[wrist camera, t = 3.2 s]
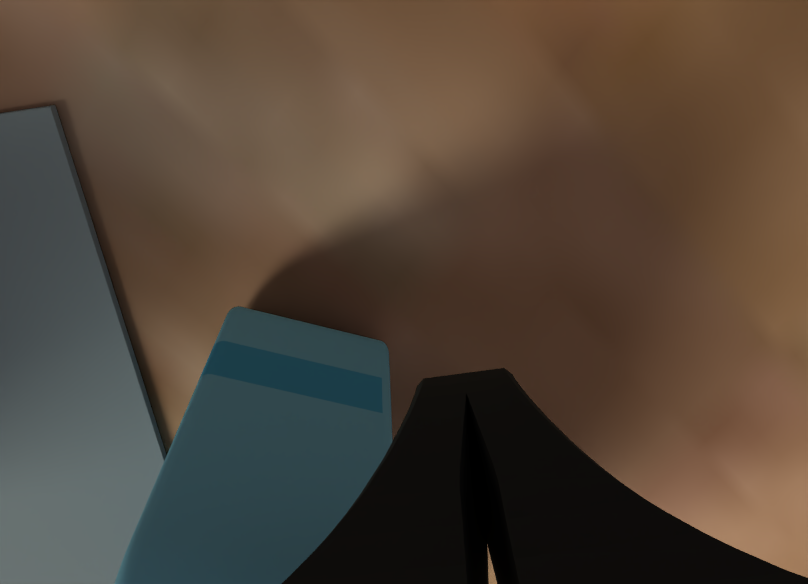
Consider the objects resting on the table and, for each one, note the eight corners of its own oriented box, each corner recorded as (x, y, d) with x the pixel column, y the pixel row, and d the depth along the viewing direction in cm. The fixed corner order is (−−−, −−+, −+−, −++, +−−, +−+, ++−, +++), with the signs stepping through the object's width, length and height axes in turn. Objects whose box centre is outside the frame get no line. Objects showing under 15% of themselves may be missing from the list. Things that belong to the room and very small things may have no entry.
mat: (-15, 760, 30) (-18, 768, 30) (-331, 162, 21) (-342, 165, 20) (255, 734, 29) (254, 741, 29) (54, 104, 20) (50, 106, 20)
